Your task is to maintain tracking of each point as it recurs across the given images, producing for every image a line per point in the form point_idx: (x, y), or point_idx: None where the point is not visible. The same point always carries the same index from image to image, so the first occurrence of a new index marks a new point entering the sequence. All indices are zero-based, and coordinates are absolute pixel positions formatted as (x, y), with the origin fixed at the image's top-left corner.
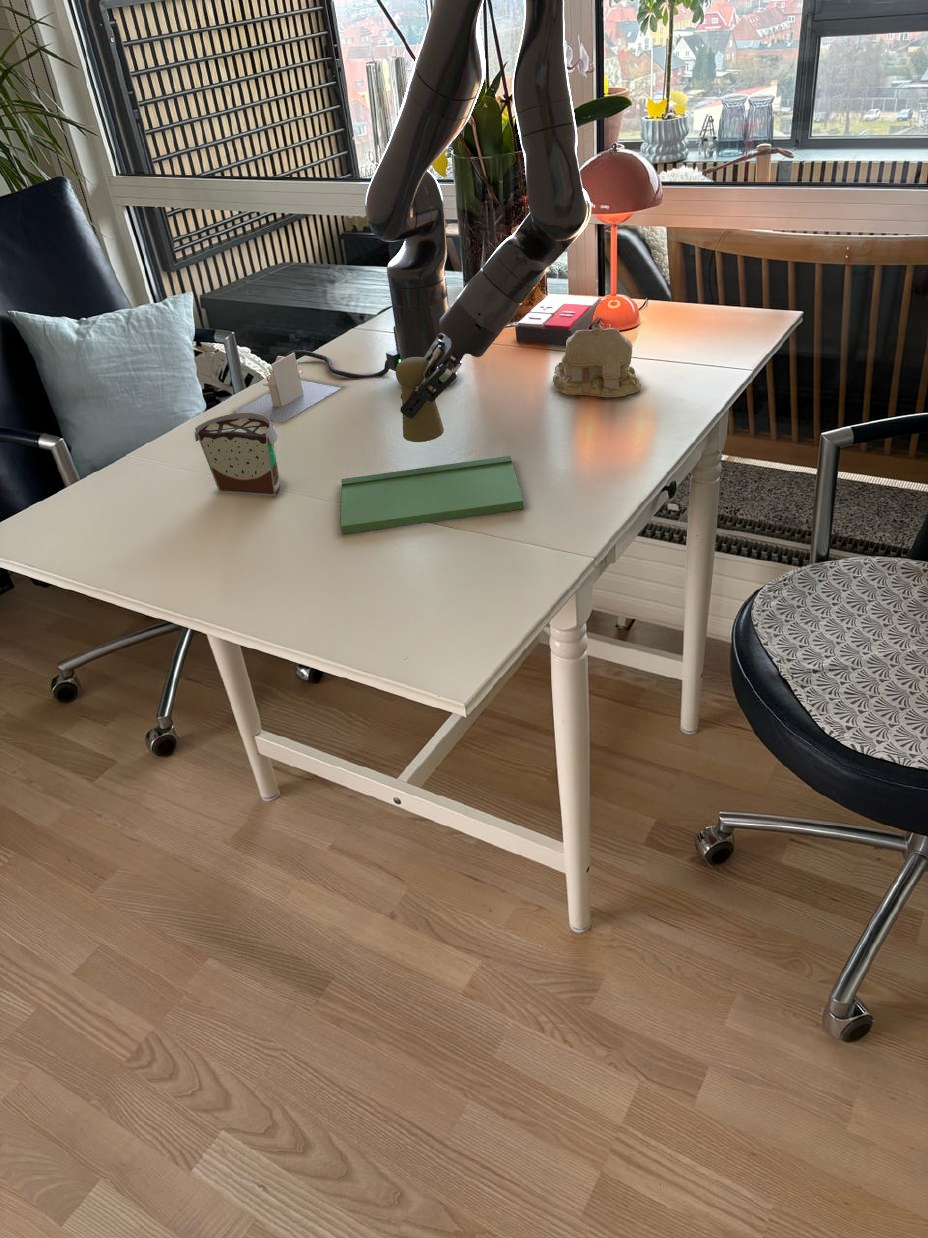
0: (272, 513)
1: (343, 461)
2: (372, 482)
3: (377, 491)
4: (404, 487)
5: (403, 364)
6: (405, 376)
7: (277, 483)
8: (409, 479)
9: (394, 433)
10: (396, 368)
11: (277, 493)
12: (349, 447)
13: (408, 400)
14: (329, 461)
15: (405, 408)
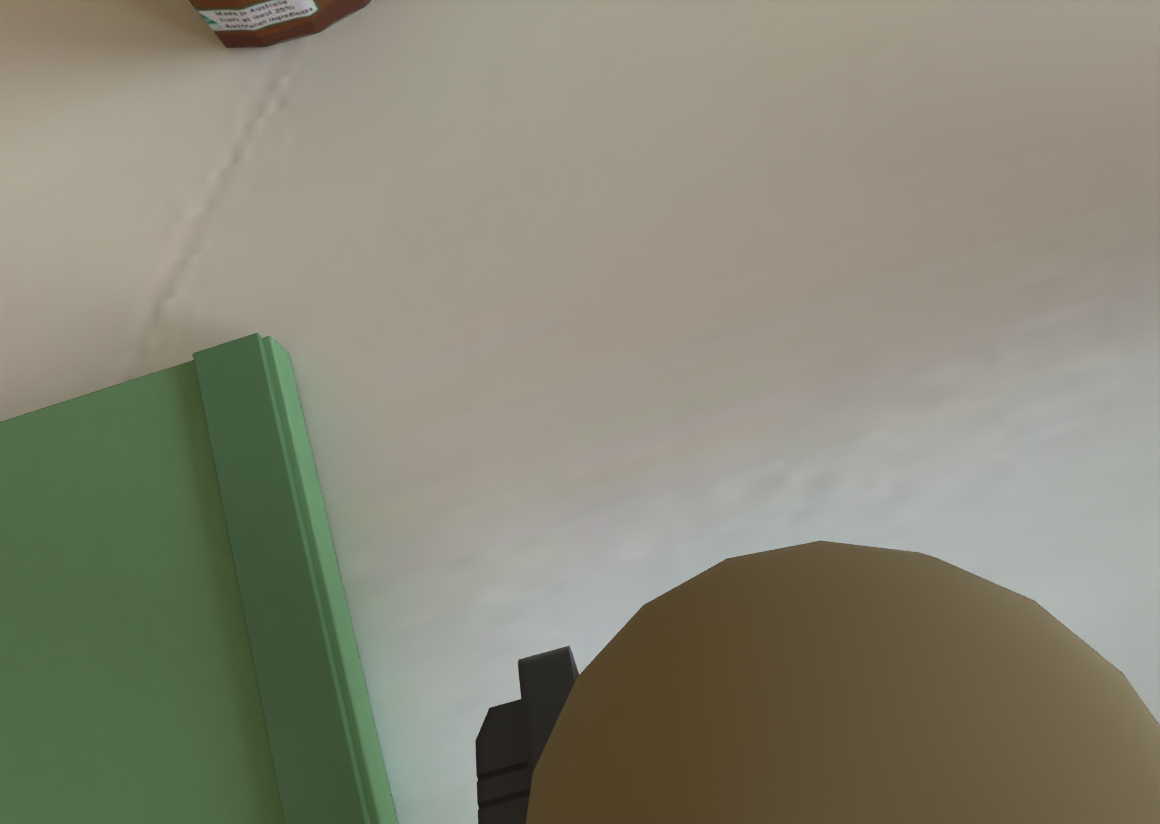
0: (61, 96)
1: (609, 246)
2: (221, 533)
3: (102, 602)
4: (132, 774)
5: (718, 745)
6: (533, 803)
7: (239, 14)
8: (241, 779)
9: (1019, 441)
10: (731, 579)
11: (245, 44)
12: (790, 220)
13: (529, 775)
14: (607, 169)
15: (486, 735)
